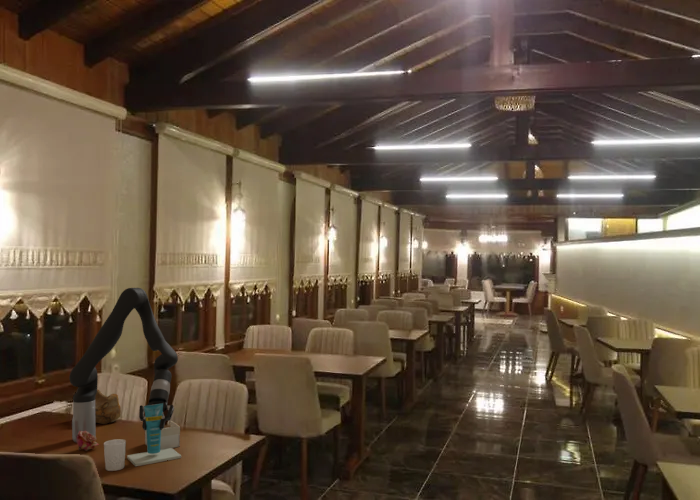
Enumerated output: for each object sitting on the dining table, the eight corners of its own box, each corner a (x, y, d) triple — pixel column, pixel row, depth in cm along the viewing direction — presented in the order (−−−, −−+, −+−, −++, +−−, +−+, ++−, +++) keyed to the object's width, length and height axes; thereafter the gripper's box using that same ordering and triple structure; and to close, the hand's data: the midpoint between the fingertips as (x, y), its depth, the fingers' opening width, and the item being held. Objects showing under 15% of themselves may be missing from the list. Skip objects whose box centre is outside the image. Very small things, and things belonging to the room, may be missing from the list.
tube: (146, 455, 251) (145, 406, 251) (143, 452, 255) (142, 404, 255) (165, 451, 255) (164, 404, 255) (161, 449, 259) (160, 402, 259)
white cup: (107, 465, 246) (107, 439, 246) (128, 464, 247) (128, 438, 247) (101, 472, 238) (101, 445, 238) (122, 471, 239) (122, 444, 239)
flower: (70, 450, 260) (82, 434, 261) (68, 440, 268) (80, 424, 269) (91, 460, 265) (102, 444, 266) (88, 450, 273) (100, 434, 274)
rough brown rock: (64, 425, 312) (62, 395, 311) (92, 414, 327) (90, 386, 326) (97, 432, 302) (95, 401, 300) (124, 420, 316) (123, 391, 315)
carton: (153, 451, 263) (153, 430, 264) (144, 443, 275) (144, 424, 275) (180, 446, 270) (180, 426, 270) (170, 439, 281) (170, 420, 281)
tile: (135, 466, 244) (135, 463, 244) (127, 457, 255) (127, 455, 255) (181, 457, 254) (181, 455, 254) (171, 450, 265) (171, 447, 265)
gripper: (140, 388, 262) (132, 424, 250) (175, 387, 263) (169, 423, 251) (144, 398, 267) (136, 434, 255) (178, 397, 268) (172, 433, 256)
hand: (152, 429), depth 253 cm, fingers closed on tube, 5 cm apart
